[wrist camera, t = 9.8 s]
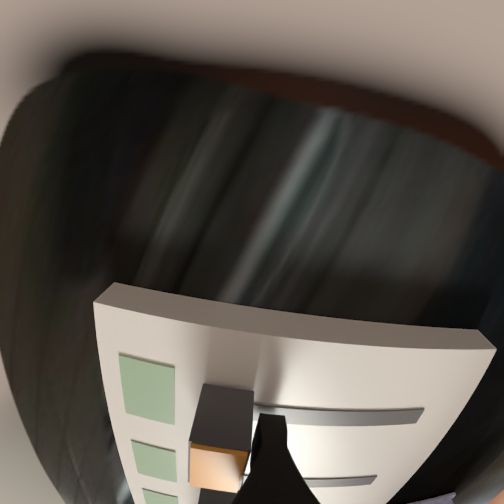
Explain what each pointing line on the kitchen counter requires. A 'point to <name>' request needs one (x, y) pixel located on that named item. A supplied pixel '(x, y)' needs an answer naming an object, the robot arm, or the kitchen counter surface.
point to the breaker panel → (280, 390)
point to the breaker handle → (220, 438)
